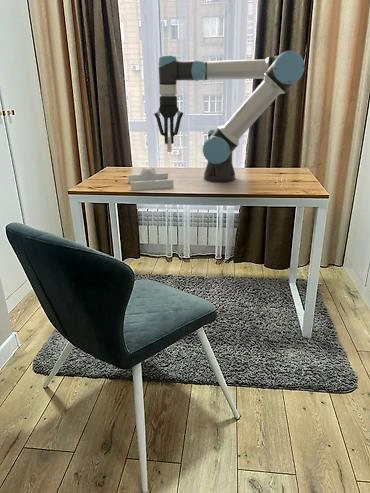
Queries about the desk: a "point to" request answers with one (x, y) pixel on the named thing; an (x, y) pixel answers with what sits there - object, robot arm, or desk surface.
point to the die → (148, 174)
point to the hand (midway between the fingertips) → (169, 151)
